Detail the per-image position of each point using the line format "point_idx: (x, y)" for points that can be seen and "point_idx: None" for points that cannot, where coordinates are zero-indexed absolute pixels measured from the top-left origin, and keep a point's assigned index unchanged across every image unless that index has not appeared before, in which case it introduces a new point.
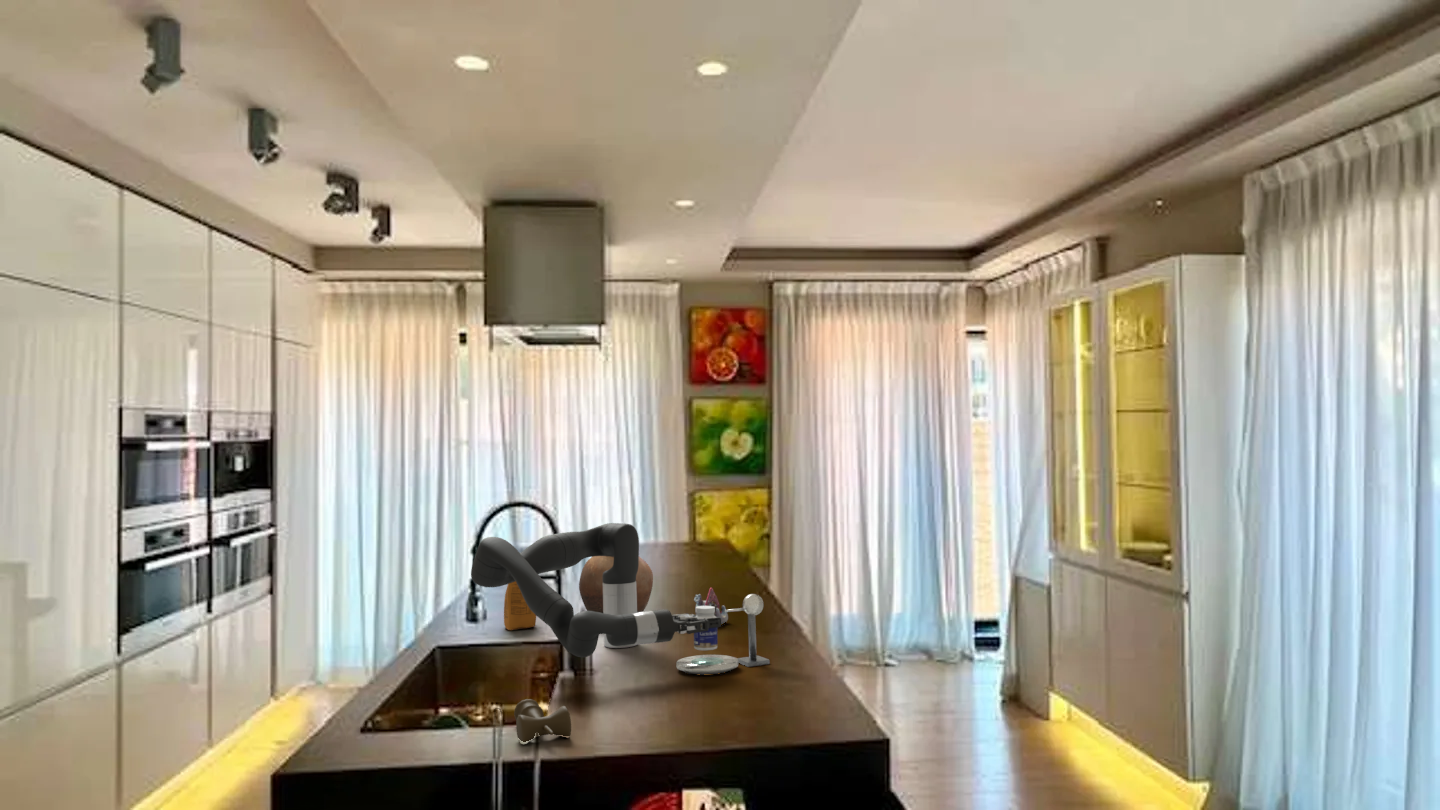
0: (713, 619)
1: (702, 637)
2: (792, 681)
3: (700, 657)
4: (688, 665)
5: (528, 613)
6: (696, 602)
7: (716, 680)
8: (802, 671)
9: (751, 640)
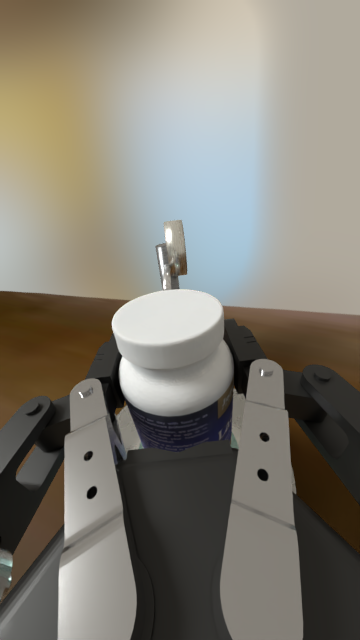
0: (243, 340)
1: (226, 436)
2: (344, 348)
3: (126, 453)
4: None
5: None
6: None
7: (342, 494)
8: (267, 324)
9: None
